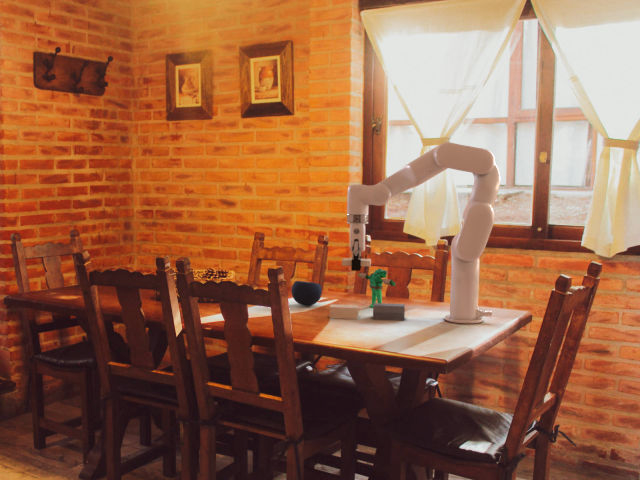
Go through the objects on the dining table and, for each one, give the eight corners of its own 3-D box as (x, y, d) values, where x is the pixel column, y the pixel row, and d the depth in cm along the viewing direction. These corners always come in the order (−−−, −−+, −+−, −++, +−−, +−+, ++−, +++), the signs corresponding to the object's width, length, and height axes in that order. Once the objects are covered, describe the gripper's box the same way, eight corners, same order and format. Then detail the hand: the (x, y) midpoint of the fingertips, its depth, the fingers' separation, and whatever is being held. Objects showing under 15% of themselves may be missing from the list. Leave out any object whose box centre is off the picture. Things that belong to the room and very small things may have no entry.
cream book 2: (358, 310, 274) (358, 305, 274) (357, 313, 268) (357, 308, 268) (330, 309, 276) (330, 304, 276) (329, 312, 270) (329, 307, 270)
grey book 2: (404, 317, 270) (404, 310, 270) (404, 320, 266) (404, 313, 265) (373, 316, 273) (373, 309, 272) (372, 319, 268) (373, 312, 268)
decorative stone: (320, 308, 288) (321, 283, 287) (290, 308, 290) (290, 282, 289) (322, 303, 300) (322, 278, 299) (292, 302, 302) (292, 278, 300)
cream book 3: (358, 315, 274) (358, 310, 274) (357, 318, 268) (357, 313, 268) (330, 314, 276) (330, 309, 276) (329, 317, 271) (329, 312, 270)
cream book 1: (370, 264, 271) (371, 258, 271) (370, 266, 265) (370, 260, 265) (343, 263, 273) (343, 258, 273) (341, 265, 267) (342, 260, 267)
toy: (404, 313, 279) (405, 273, 277) (390, 314, 276) (390, 274, 274) (368, 302, 302) (368, 265, 301) (354, 303, 300) (354, 266, 298)
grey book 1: (404, 310, 270) (404, 304, 270) (404, 313, 265) (404, 306, 265) (373, 309, 272) (373, 303, 272) (373, 312, 268) (373, 305, 267)
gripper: (367, 221, 258) (366, 272, 260) (369, 218, 275) (367, 266, 277) (345, 220, 259) (344, 272, 262) (348, 217, 276) (347, 266, 278)
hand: (356, 268), depth 269 cm, fingers closed on cream book 1, 6 cm apart
